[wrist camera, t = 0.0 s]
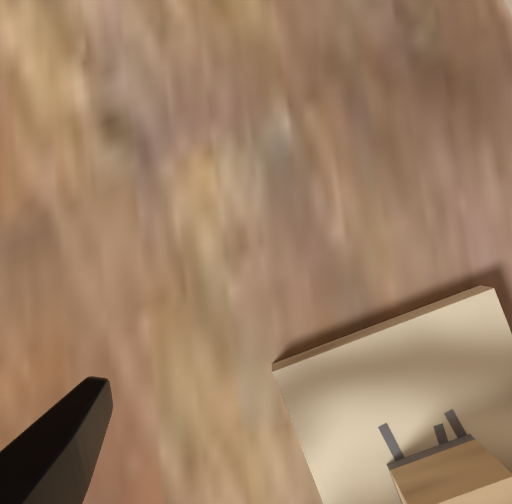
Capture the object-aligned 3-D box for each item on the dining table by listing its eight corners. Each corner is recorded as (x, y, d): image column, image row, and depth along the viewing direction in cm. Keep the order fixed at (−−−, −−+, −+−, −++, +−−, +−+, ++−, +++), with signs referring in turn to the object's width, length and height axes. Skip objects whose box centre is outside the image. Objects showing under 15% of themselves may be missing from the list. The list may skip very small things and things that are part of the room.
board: (612, 628, 24) (635, 655, 22) (403, 700, 24) (412, 731, 22) (479, 285, 23) (494, 287, 22) (271, 363, 24) (271, 372, 22)
